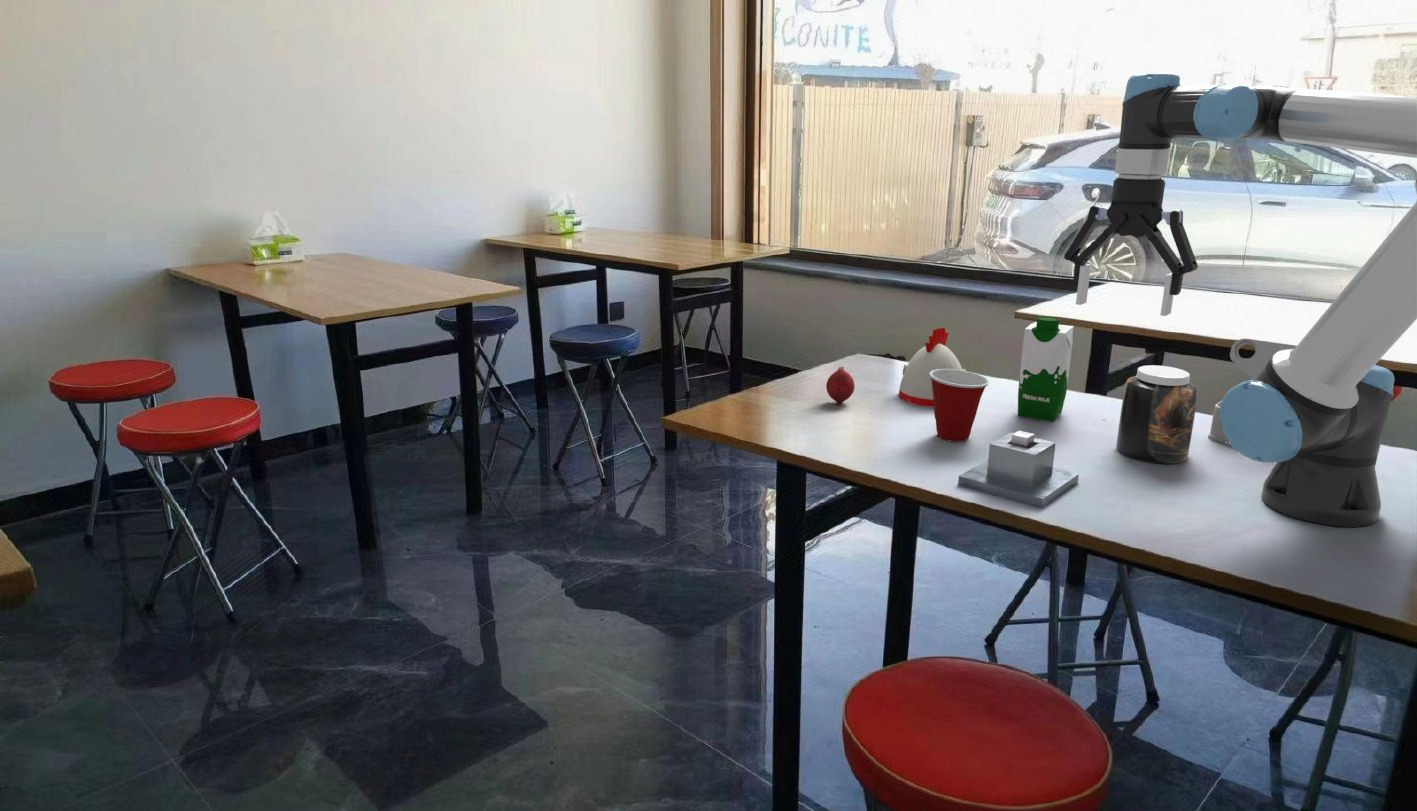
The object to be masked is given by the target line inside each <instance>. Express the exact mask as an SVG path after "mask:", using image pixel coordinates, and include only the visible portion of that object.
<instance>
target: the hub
mask: <svg viewBox="0 0 1417 811" xmlns="http://www.w3.org/2000/svg"><path fill="white" fill-rule="evenodd" d="M1014 433H1015V432H1009V433H1007V434H1005V435H1003V436H1001V437H999V438H998V439H996V440H994V441H992V442H990V443H989V446H988V447H989V449H988V457H987V460H988V468H987V476H990V477H994V478H997V479H1001V480H1005V481H1009V482H1012V483H1016V484H1020V485H1023V486H1027V487H1031V488H1032V487H1034V486H1035V485H1037V484H1038V483H1040V482H1041V481H1043V480H1044V479H1046V478H1048V477H1049V476H1051V475H1052V470H1053V468H1054V459H1055V453H1056V452H1055V451H1056V442H1053V441H1049V440H1045V439H1043V438H1036V437H1034V445H1033V447H1032V448H1030V449H1027V448H1023V447H1019V446H1015V445H1011V440H1012V434H1014Z"/></svg>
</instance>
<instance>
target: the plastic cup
mask: <svg viewBox="0 0 1417 811" xmlns="http://www.w3.org/2000/svg"><path fill="white" fill-rule="evenodd" d="M929 376H930V377H931V381H932V390H933V400H934V407H933V410H934V411H933V412H934V419H935V427H936V433H937V437H938V438H939V439H941V440H944V441H948V442H964V441H967V440H969V437H970V436H971V433H972V428H973V425H974V423H975V420H976V415H977V412H978V409H979V404H980V401H981V398H982V396H983V394H984V391H985V389H986V387H987V386H988V385H989V384H990V383H991V382H990V380H989V379H988V378H987V377H985V376H984V375H981V374H979V373H976V372H972V371H967V370H966V371H963V370H955V369H936V370H932V371H931V372H930V373H929Z"/></svg>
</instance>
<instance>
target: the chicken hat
mask: <svg viewBox="0 0 1417 811" xmlns="http://www.w3.org/2000/svg"><path fill="white" fill-rule="evenodd" d="M948 335H949V332H947V331H946V328H945V327H940V328H938V327H937V328H936V329H932V335H929V336H928V342H925V344H924V346H923V347H921V348H920V349H919V350H917V351H916V353H915V354H914V355H913V356H912V357H911V359H910V360H909V362H908V363H907V364H904V365H903V368H902V377H901V381H900V384H899V388H898V389H899V390H898V397H899V398H900V400H902V401H904V402H906V403H909V404H911V403H912V405H915V404H916V405H915V406H920V407H921V406H922V407H927V406H929V408H934V400H933V390H932V381H931V377H930V376H929V373H930V372H931V371H932V370H936V369H955V370H963V371H967V369H966V368H962V365H961V363H960V361H959V360H958V358H957V357H956V355H955V354H954V352H953V351H951V349H950V348H948V347H947V346H946V342H947V340H948Z"/></svg>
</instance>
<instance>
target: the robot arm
mask: <svg viewBox="0 0 1417 811" xmlns="http://www.w3.org/2000/svg"><path fill="white" fill-rule="evenodd" d="M1180 82H1181V77H1180V75H1179V74H1178V73H1173V72H1172V73H1171V72H1169V73H1168V72H1159V73H1158V72H1157V73H1156V72H1155V73H1137V74H1133V75H1131V76H1130V77H1129V78H1128V80H1127V82H1126V87H1125V93H1124V98H1123V101H1122V110H1121V123H1120V132H1119V133H1120V134H1119V141H1118V147H1117V151H1116V152H1117V153H1116V159H1115V160H1116V161H1115V168H1114V173H1115V175H1117V176H1118V177H1115V179H1113V182H1112V183H1113V184H1112V192H1111V199H1110V200H1111V201H1110V206H1109V207H1103V206H1102V205H1101V204H1097V205H1092V206H1091V207H1089V211H1088V215H1087V219H1086V220H1085V222H1084V224H1083V225H1082V226H1081V229H1080V230H1079V231H1078V233H1077V234H1076V236H1075V238H1074V239H1073V241H1072V242H1071V244H1070V246H1069V247H1068V249H1067V251H1065V253H1064V256H1063V258H1064V259H1065V261H1070V262H1072V263H1073V264H1074V271H1073V279H1072V281H1073V284H1077V290H1076V300H1075V305H1078V306H1081V305H1084V304H1086V303H1087V301H1088V294H1089V293H1088V292H1089V285H1090V284H1089V283H1090V278H1091V270H1092V269H1091V268H1092V264H1087V263H1088V262H1089V261H1090V260H1091V258H1092V257H1094V256H1095V254H1097V252H1099V251H1100V250H1101V249H1102V248H1103V247H1104V246H1105V245H1106V244H1108V242H1110V240H1112V239H1113V238H1114V237H1115V236H1117V235H1119V236H1120V237H1128V236H1131V237H1134V238H1143V237H1145V238H1147V240H1148V241H1149V242H1150V243H1151V244H1152V246H1153V247H1154V248H1155V250H1156V251H1157V253H1158V254H1159V256H1160V257H1161V259H1162V261H1163V262H1164V264H1165V265H1166V266H1167V268H1168V269H1169V271H1170V272H1171V273H1167V274H1166V275H1165V281H1164V282H1165V283H1164V286H1163V287H1164V288H1163V296H1162V302H1161V309H1160V313H1159V314H1160V316H1163V317H1166V316H1168V315H1170V314H1171V313H1172V309H1173V302H1174V296H1179V295H1180V294H1181V292H1182V285H1183V280H1184V275H1185V274H1187V273H1191V272H1195V271H1196V270H1198V267H1199V266H1198V262H1197V260H1196V256H1195V254H1194V251H1193V249H1192V246H1191V243H1190V240H1189V237H1188V235H1187V232H1186V229H1185V226H1184V212H1183V210H1182V209H1176V210H1170V211H1164V210H1163V202H1164V201H1163V200H1164V194H1165V188H1166V180H1165V179H1164V178H1163V176H1165V175H1167V172H1168V166H1169V165H1168V164H1169V160H1170V159H1169V158H1170V152H1171V143H1172V142H1173V141H1172V140H1173V139H1189V140H1191V139H1192V140H1210V141H1227V140H1235V139H1236V140H1237V139H1255V140H1256V139H1258V140H1268V141H1274V142H1275V141H1277V142H1284V143H1285V142H1287V143H1293V144H1294V143H1295V144H1302V145H1303V144H1304V145H1310V146H1319V147H1326V148H1327V147H1328V148H1335V149H1342V150H1350V151H1351V150H1352V151H1357V152H1358V151H1360V152H1366V153H1373V154H1382V155H1390V156H1397V157H1407V158H1414V159H1417V96H1410V95H1409V96H1405V95H1393V94H1378V93H1368V92H1367V93H1364V92H1353V91H1352V92H1350V91H1336V90H1326V89H1325V90H1323V89H1322V90H1321V89H1310V88H1302V89H1301V88H1297V87H1295V88H1294V87H1289V86H1283V85H1270V86H1249V85H1244V84H1234V83H1229V84H1228V83H1220V84H1212V85H1211V84H1208V85H1193V86H1183V85H1182V86H1181V83H1180ZM1414 188H1415V192H1416V194H1417V178H1416V179H1415V181H1414ZM1105 216H1106V217H1107V219H1108V220H1109V222H1110V224H1109V225H1108V226H1107V227H1106V228H1105V229H1104V230H1103V232H1102V233H1101V234H1100V235H1099V236H1098V237H1097V238H1096V239H1095V240H1094V241H1093V242H1092V243H1090V244H1089V245H1088V246H1087V247H1086V248H1085V249H1084V250H1083V251H1082V252H1081V250H1082V249H1083V247H1084V246H1085V244H1086V243H1087V241H1088V240H1089V238H1090V237H1091V236H1092V234H1093V232H1094V230H1095V229H1096V227H1097V226H1098V224H1099V222H1100V221H1101V220H1103V219H1104V217H1105ZM1163 220H1164V221H1165V223H1166V225H1168V226H1169V230H1170V232H1171V235H1172V238H1173V241H1174V243H1175V245H1176V249H1177V251H1178V254H1179V256H1180V257H1179V258H1180V259H1181V260H1180V259H1179V258H1178V256H1177V255H1176V253H1175V252H1174V250H1173V249H1172V247H1171V246H1170V245H1169V243H1168V241H1166V239H1165V237H1164V236H1163V233H1162V231H1161V230H1160V229H1159V227H1158V224H1159V223H1160V222H1162V221H1163ZM1080 252H1081V253H1080ZM1079 253H1080V254H1079ZM1416 321H1417V200H1416V201H1415V203H1414V204H1413V205H1412V207H1411V208H1410V209H1409V210H1408V211H1407V212H1406V214H1405V215H1404V216H1403V217H1402V219H1401V220H1400V221H1399V222H1398V223H1397V225H1396V226H1395V227H1394V228H1393V229H1392V230H1391V231H1390V233H1389V234H1388V235H1387V237H1386V238H1385V239H1384V240H1383V242H1382V243H1381V244H1380V245H1379V246H1378V248H1377V249H1376V250H1375V251H1374V252H1373V253H1372V255H1371V256H1370V257H1369V258H1368V260H1366V262H1365V263H1364V264H1363V266H1362V267H1361V268H1360V269H1359V270H1358V272H1356V273H1355V275H1354V277H1352V279H1351V280H1350V281H1349V282H1348V284H1347V285H1346V286H1345V287H1344V289H1342V291H1341V292H1340V294H1338V296H1336V298H1335V299H1334V300H1333V302H1331V304H1330V305H1329V307H1328V308H1327V309H1326V310H1325V311H1324V312H1323V314H1321V316H1320V318H1319V319H1317V321H1316V322H1315V323H1314V325H1313V326H1312V327H1311V328H1310V329H1309V331H1308V332H1307V333H1306V334H1305V336H1304V337H1303V338H1302V339H1301V340H1300V341H1299V343H1298V344H1297V345H1295V346H1296V348H1295V349H1288V350H1281V351H1278V352H1277V353H1276V354H1275V355H1274V356H1273V357H1272V358H1271V359H1270V360H1269V362H1268V363H1267V364H1266V365H1265V366H1264V368H1263V369H1262V370H1261V371H1260V373H1259V374H1258V375H1257V376H1256V377H1255V378H1254V379H1253V380H1252V379H1251V380H1250V379H1249V380H1243V381H1241V382H1240V383H1238V384H1236V385H1234V386H1232V387H1231V388H1230V389H1229V390H1228V391H1227V392H1226V393H1225V395H1224V396H1223V398H1222V400H1221V401H1222V402H1221V406H1220V420H1221V421H1222V430H1223V433H1224V435H1225V437H1226V438H1227V440H1228V442H1229V443H1230V444H1229V445H1231V446H1232V448H1233V449H1234V450H1235V451H1236V452H1238V453H1239V454H1240V455H1242V456H1243V457H1245V458H1246V459H1248V460H1249V459H1250V460H1252V461H1254V462H1259V463H1275V462H1276V463H1275V464H1274V466H1273V468H1272V469H1271V470H1270V473H1269V474H1268V476H1267V477H1266V479H1265V481H1264V483H1263V485H1262V492H1261V499H1262V501H1263V502H1264V504H1266V505H1267V506H1269V507H1270V508H1272V509H1273V510H1275V511H1278V512H1280V513H1281V514H1284V515H1287V516H1290V517H1292V518H1296V519H1299V520H1301V521H1305V522H1310V523H1315V524H1320V525H1327V526H1332V527H1333V526H1334V527H1346V528H1347V527H1348V528H1349V527H1350V528H1351V527H1352V528H1353V527H1355V528H1358V527H1365V526H1369V525H1370V526H1371V525H1373V524H1374V523H1376V522H1378V521H1379V516H1380V513H1381V509H1382V502H1381V500H1382V499H1381V497H1380V495H1381V494H1380V490H1379V484H1378V477H1377V472H1376V464H1377V460H1378V455H1379V451H1380V449H1381V448H1380V447H1381V444H1382V439H1383V434H1384V430H1385V426H1386V422H1387V418H1388V414H1389V411H1390V405H1391V402H1392V401H1391V400H1392V398H1393V397H1394V391H1393V390H1394V384H1395V376H1394V372H1392V371H1391V370H1390V369H1388V368H1386V367H1384V366H1379V365H1377V364H1378V362H1379V361H1380V360H1381V359H1382V358H1383V356H1384V355H1385V354H1386V353H1388V352H1389V350H1390V349H1391V348H1392V347H1393V346H1394V345H1395V343H1396V342H1397V341H1398V340H1399V339H1400V338H1401V337H1403V335H1404V334H1405V333H1406V332H1407V331H1408V329H1409V328H1411V326H1412V325H1413V324H1414V323H1415V322H1416Z"/></svg>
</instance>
